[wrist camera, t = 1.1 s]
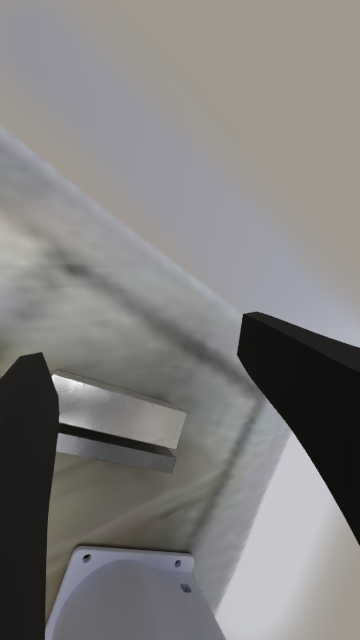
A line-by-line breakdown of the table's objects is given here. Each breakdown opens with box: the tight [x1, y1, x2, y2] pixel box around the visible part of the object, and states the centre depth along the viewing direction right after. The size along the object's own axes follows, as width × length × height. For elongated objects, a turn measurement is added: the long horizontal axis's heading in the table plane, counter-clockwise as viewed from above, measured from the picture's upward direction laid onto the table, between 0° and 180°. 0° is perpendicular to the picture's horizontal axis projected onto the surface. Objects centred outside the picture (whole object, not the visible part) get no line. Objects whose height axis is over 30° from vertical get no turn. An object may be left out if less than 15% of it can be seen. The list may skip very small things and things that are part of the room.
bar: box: [52, 369, 187, 449], centre depth 17 cm, size 9×2×4 cm, turn 69°
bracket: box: [56, 422, 176, 474], centre depth 15 cm, size 18×4×5 cm, turn 69°
